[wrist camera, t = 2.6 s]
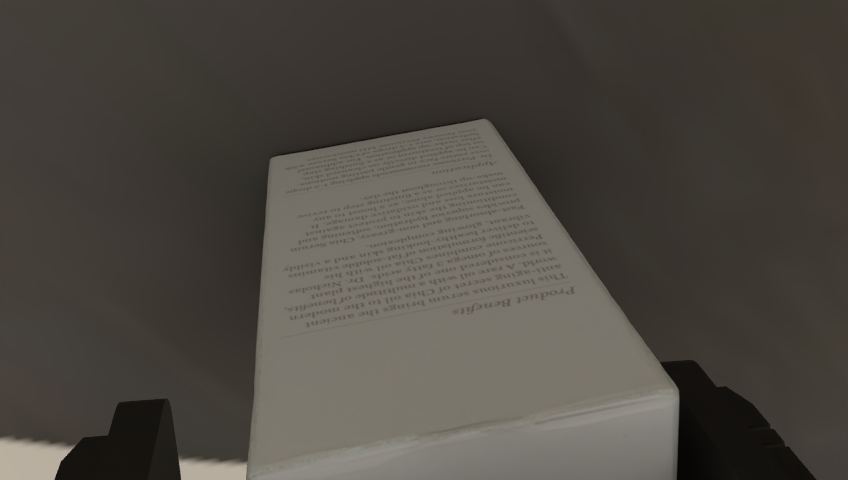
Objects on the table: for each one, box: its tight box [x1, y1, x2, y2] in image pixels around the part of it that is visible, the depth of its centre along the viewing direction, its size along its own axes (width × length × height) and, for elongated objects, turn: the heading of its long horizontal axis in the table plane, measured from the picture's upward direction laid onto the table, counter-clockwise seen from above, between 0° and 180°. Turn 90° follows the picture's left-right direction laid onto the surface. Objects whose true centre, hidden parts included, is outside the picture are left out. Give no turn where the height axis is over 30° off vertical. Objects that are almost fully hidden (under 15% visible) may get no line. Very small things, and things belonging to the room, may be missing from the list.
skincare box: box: [246, 119, 679, 480], centre depth 17 cm, size 6×4×12 cm
